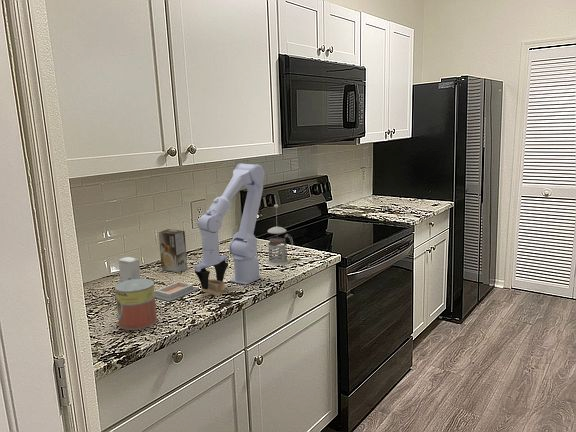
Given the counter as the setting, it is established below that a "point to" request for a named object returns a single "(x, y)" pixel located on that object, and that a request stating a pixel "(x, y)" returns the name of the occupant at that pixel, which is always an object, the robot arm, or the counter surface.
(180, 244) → the coffee box
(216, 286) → the maple block
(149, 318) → the canned food
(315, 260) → the counter surface
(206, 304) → the counter surface
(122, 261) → the skincare box
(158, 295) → the board
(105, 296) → the counter surface
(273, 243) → the french press
